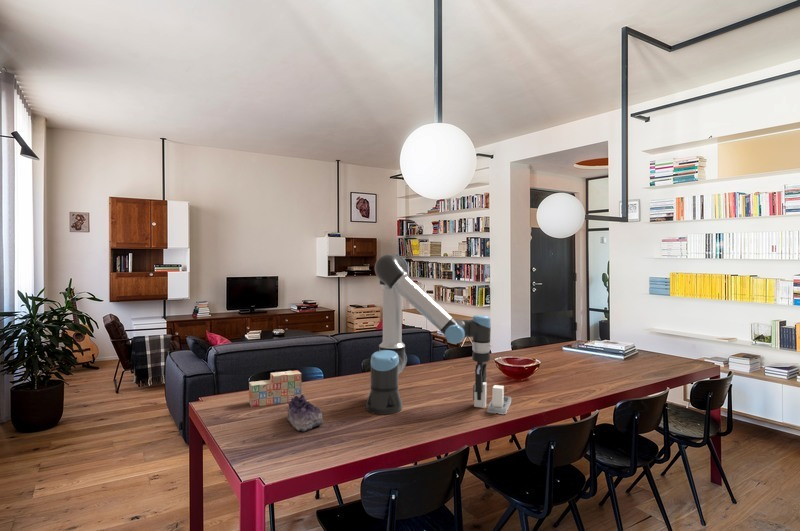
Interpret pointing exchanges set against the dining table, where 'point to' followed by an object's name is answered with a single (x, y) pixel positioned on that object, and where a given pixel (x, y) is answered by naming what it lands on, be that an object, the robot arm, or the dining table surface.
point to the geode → (303, 414)
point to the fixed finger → (498, 396)
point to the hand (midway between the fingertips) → (480, 405)
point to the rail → (497, 409)
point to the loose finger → (483, 394)
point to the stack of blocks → (275, 389)
